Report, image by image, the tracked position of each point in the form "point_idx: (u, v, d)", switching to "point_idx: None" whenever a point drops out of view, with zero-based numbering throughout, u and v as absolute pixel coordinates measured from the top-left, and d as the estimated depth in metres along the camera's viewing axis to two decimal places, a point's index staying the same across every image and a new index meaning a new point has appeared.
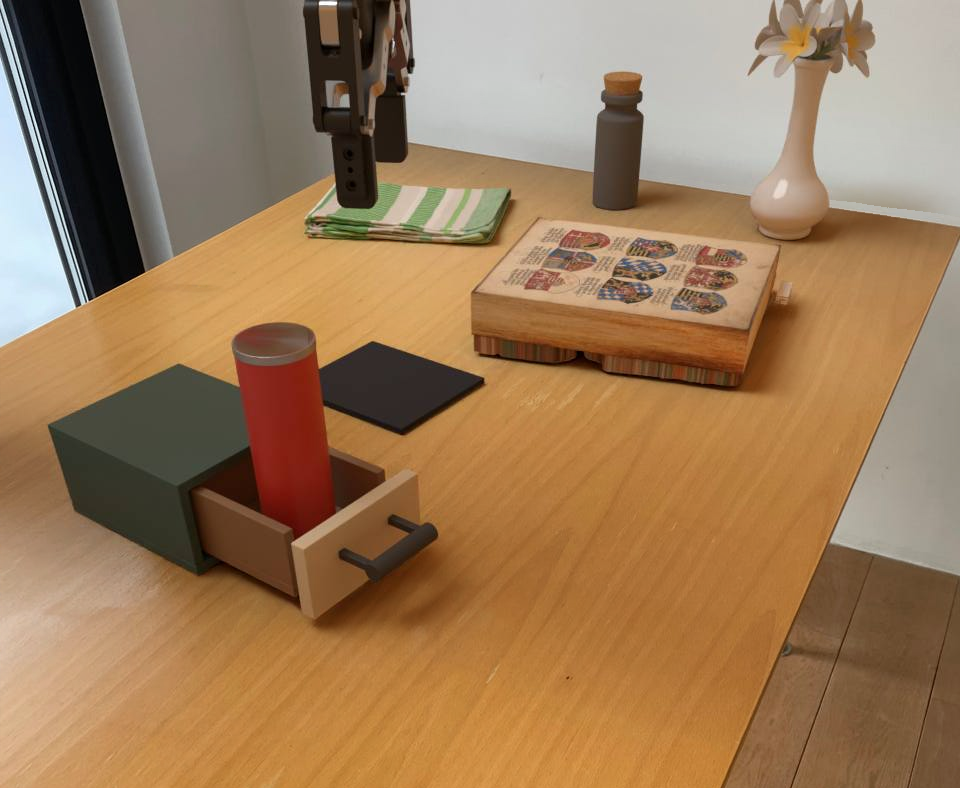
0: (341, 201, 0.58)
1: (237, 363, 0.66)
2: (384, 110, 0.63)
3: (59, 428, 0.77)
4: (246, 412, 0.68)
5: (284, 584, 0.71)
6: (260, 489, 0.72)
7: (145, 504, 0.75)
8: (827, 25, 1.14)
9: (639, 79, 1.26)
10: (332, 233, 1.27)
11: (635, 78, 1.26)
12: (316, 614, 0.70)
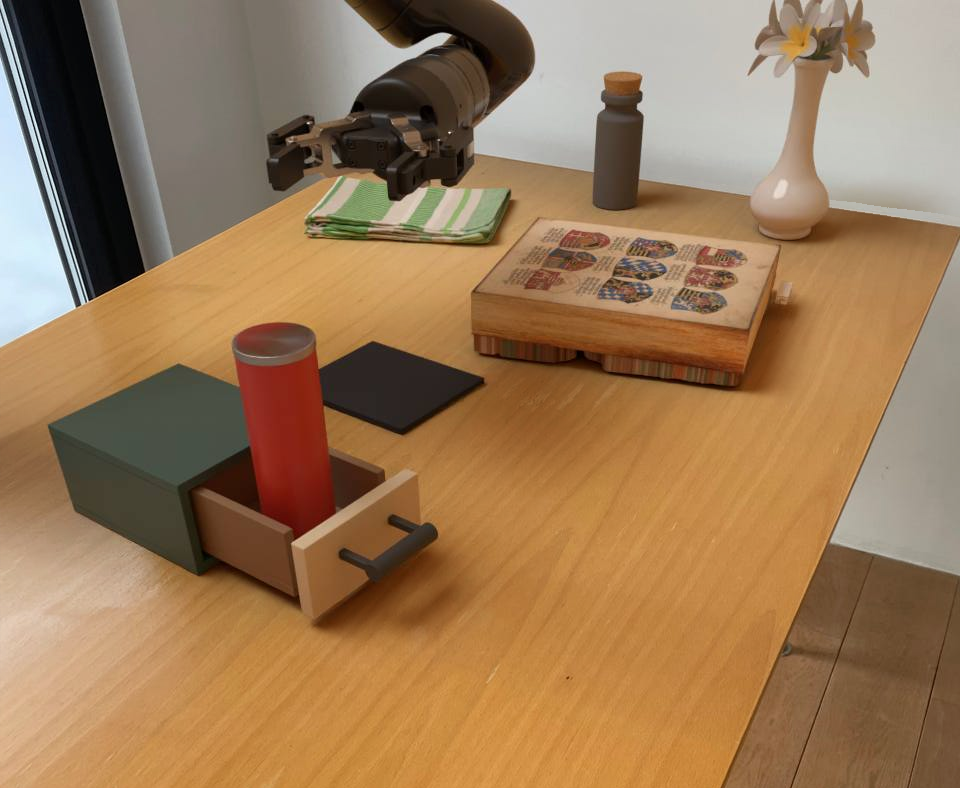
0: (397, 170, 0.69)
1: (237, 363, 0.66)
2: (297, 162, 0.73)
3: (59, 428, 0.77)
4: (246, 412, 0.68)
5: (284, 584, 0.71)
6: (260, 489, 0.72)
7: (145, 504, 0.75)
8: (827, 25, 1.14)
9: (639, 79, 1.26)
10: (332, 233, 1.27)
11: (635, 78, 1.26)
12: (316, 614, 0.70)
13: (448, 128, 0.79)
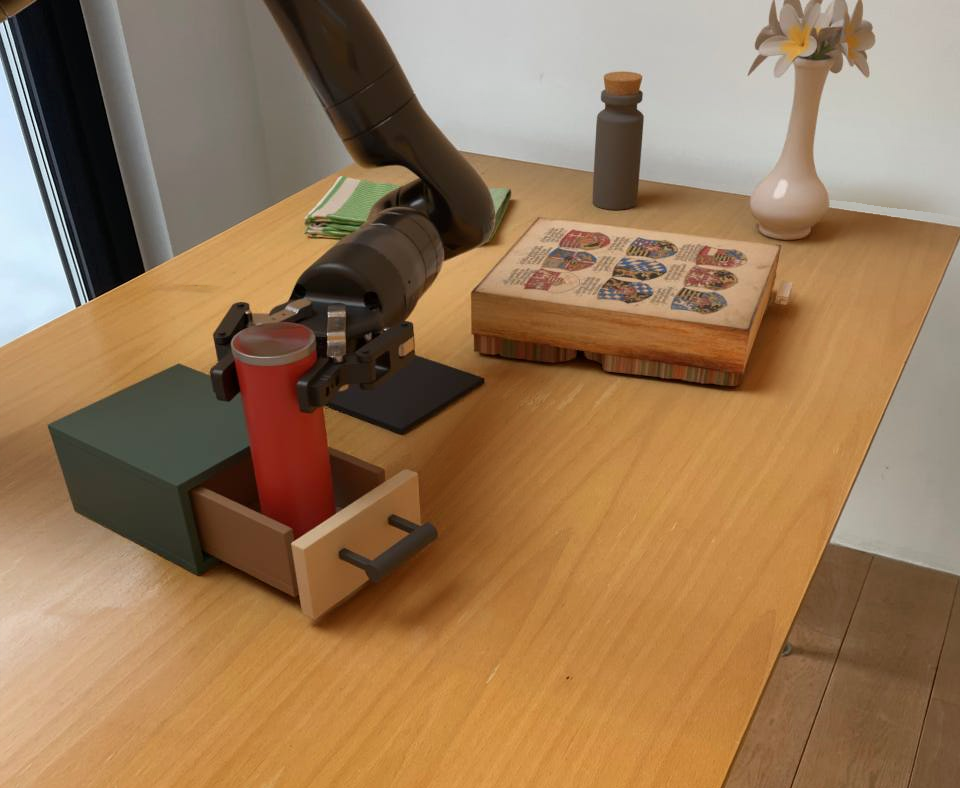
0: (308, 385, 0.65)
1: (237, 363, 0.66)
2: None
3: (59, 428, 0.77)
4: (246, 412, 0.68)
5: (284, 584, 0.71)
6: (260, 489, 0.72)
7: (145, 504, 0.75)
8: (827, 25, 1.14)
9: (639, 79, 1.26)
10: (332, 233, 1.27)
11: (635, 78, 1.26)
12: (316, 614, 0.70)
13: (395, 310, 0.75)
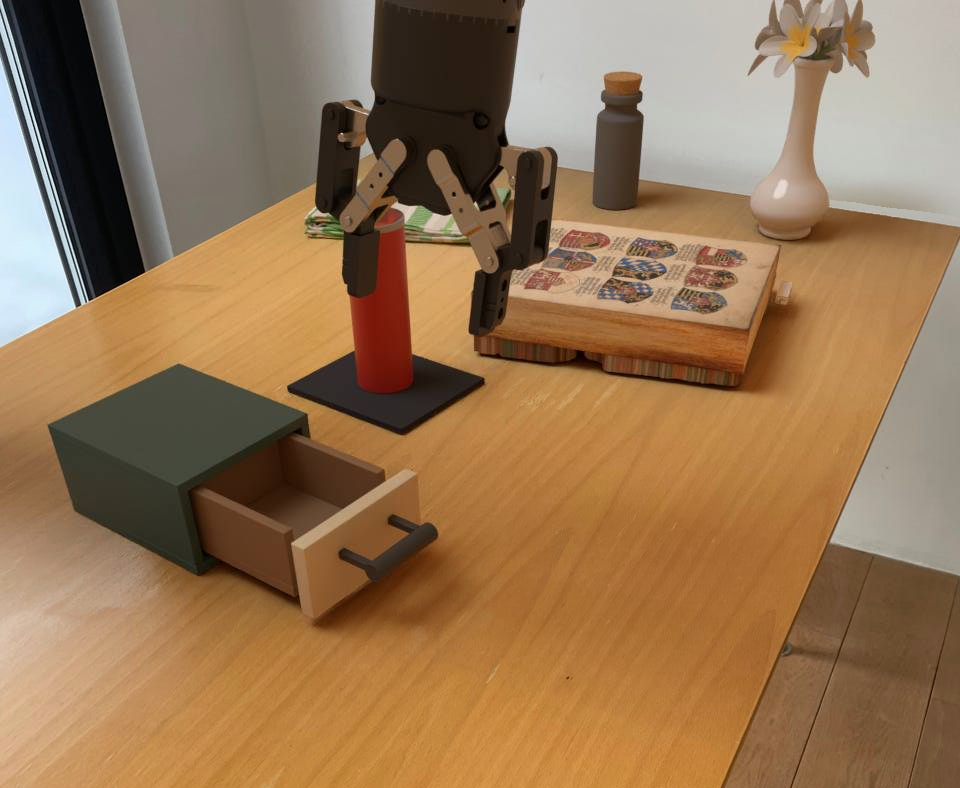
0: (480, 332, 0.60)
1: None
2: (368, 246, 0.62)
3: (59, 428, 0.77)
4: None
5: (284, 584, 0.71)
6: (367, 343, 0.92)
7: (145, 504, 0.75)
8: (827, 25, 1.14)
9: (639, 79, 1.26)
10: (332, 233, 1.27)
11: (635, 78, 1.26)
12: (316, 614, 0.70)
13: (504, 76, 0.54)
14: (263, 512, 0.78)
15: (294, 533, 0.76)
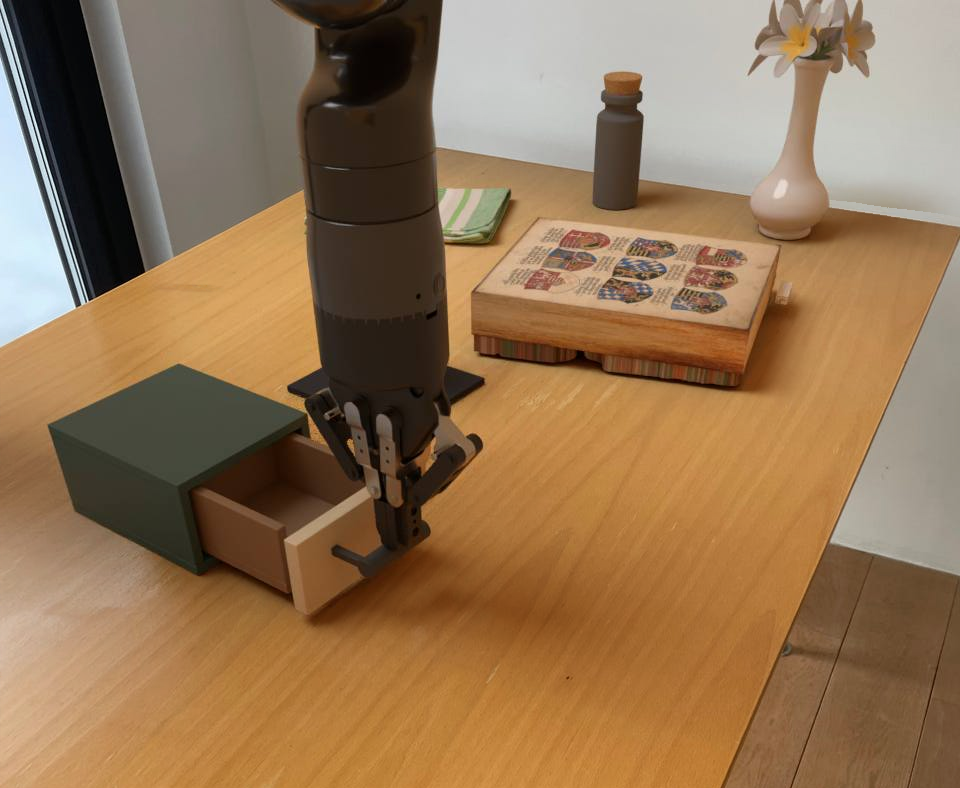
0: (399, 548, 0.68)
1: None
2: None
3: (59, 428, 0.77)
4: None
5: (277, 581, 0.72)
6: None
7: (145, 504, 0.75)
8: (827, 25, 1.14)
9: (639, 79, 1.26)
10: None
11: (635, 78, 1.26)
12: (309, 610, 0.70)
13: (432, 351, 0.58)
14: (257, 509, 0.78)
15: (288, 530, 0.76)
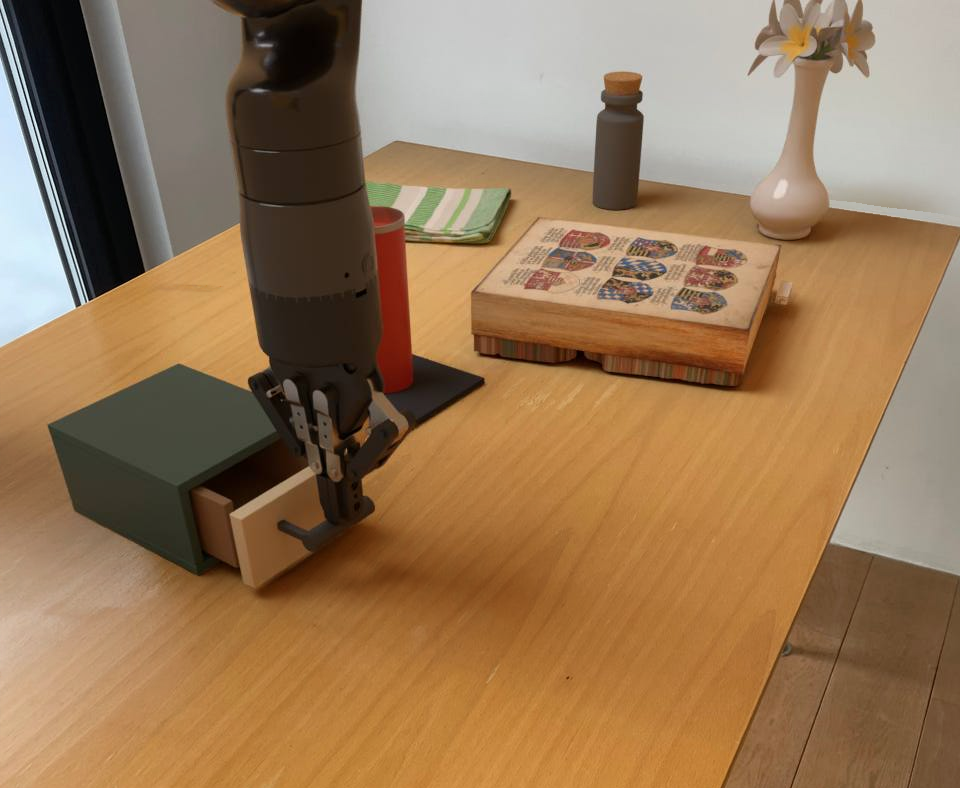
0: (342, 522, 0.70)
1: None
2: None
3: (59, 428, 0.77)
4: None
5: (226, 555, 0.74)
6: None
7: (145, 504, 0.75)
8: (827, 25, 1.14)
9: (639, 79, 1.26)
10: None
11: (635, 78, 1.26)
12: (256, 583, 0.73)
13: (363, 329, 0.60)
14: (211, 488, 0.81)
15: (239, 507, 0.79)
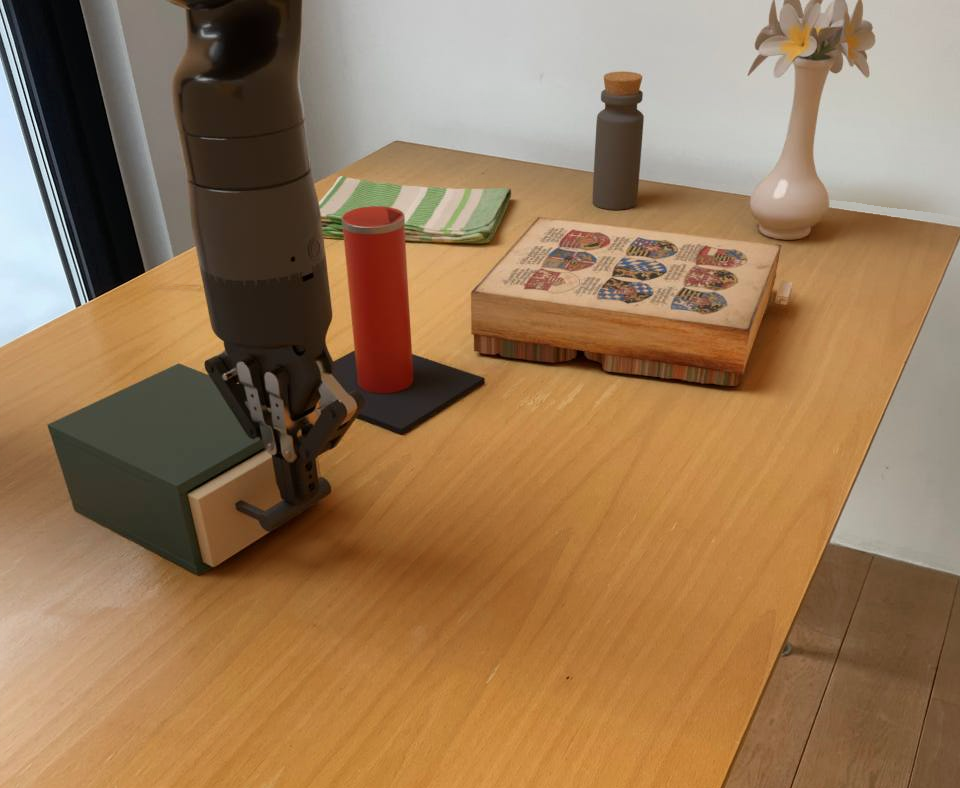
0: (297, 502, 0.72)
1: (356, 237, 0.87)
2: None
3: (59, 428, 0.77)
4: (361, 278, 0.89)
5: None
6: (367, 343, 0.92)
7: (145, 504, 0.75)
8: (827, 25, 1.14)
9: (639, 79, 1.26)
10: (332, 233, 1.27)
11: (635, 78, 1.26)
12: (215, 562, 0.75)
13: (311, 312, 0.62)
14: None
15: None
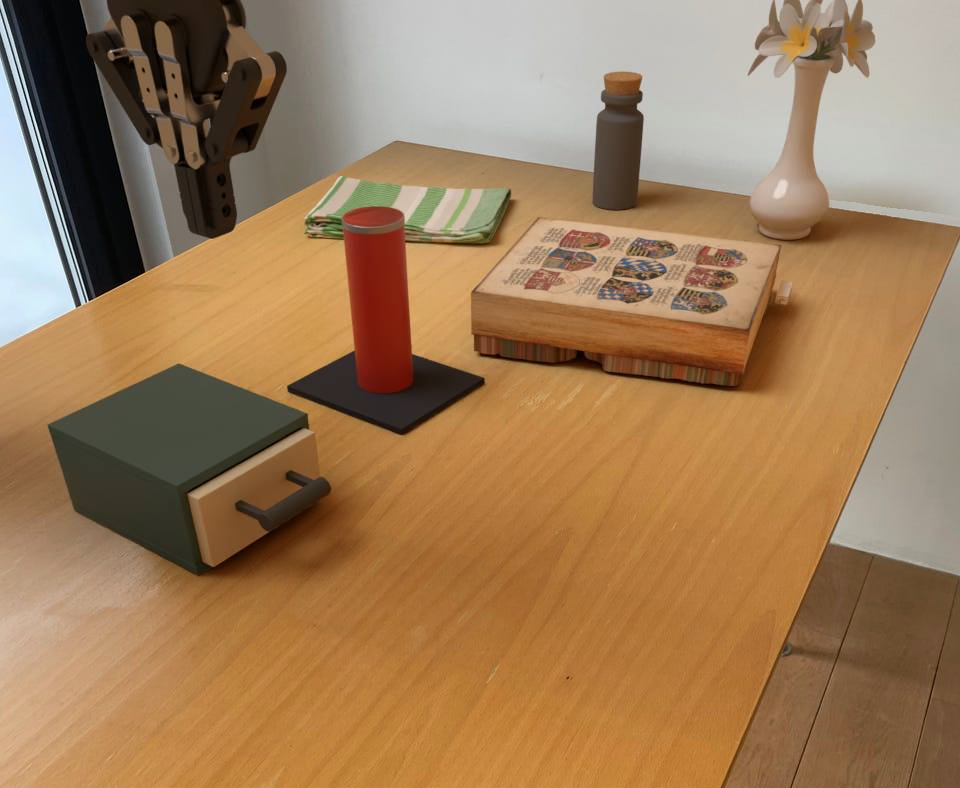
0: (209, 233, 0.57)
1: (356, 237, 0.87)
2: None
3: (59, 428, 0.77)
4: (361, 278, 0.89)
5: None
6: (367, 343, 0.92)
7: (145, 504, 0.75)
8: (827, 25, 1.14)
9: (639, 79, 1.26)
10: (332, 233, 1.27)
11: (635, 78, 1.26)
12: (215, 562, 0.75)
13: None
14: None
15: None
